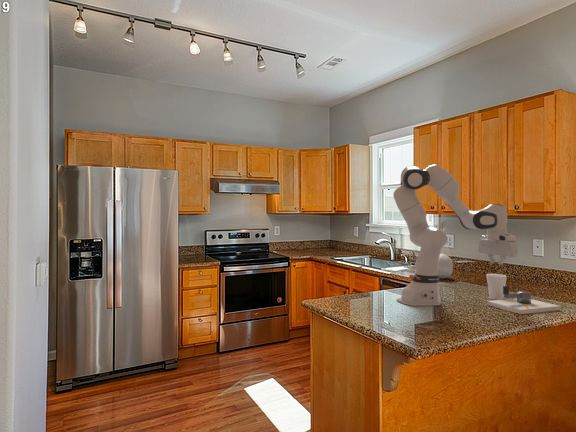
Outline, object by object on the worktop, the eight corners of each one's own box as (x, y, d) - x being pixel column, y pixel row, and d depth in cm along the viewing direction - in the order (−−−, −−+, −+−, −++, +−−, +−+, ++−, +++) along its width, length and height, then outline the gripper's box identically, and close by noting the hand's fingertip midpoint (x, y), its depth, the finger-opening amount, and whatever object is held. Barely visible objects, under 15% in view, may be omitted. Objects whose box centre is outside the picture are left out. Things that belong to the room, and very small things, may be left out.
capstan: (522, 300, 186) (523, 283, 185) (534, 303, 180) (534, 285, 180) (498, 302, 180) (498, 284, 180) (509, 305, 175) (509, 287, 175)
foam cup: (495, 301, 192) (496, 276, 192) (482, 297, 201) (482, 274, 201) (510, 300, 195) (510, 276, 195) (496, 296, 204) (496, 273, 204)
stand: (519, 314, 167) (520, 309, 167) (487, 304, 185) (487, 300, 185) (559, 310, 176) (560, 305, 176) (525, 301, 193) (525, 297, 193)
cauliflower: (426, 264, 284) (428, 241, 272) (456, 279, 267) (460, 256, 255) (409, 277, 274) (411, 254, 263) (439, 293, 257) (443, 270, 245)
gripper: (475, 235, 192) (474, 261, 192) (510, 237, 172) (509, 266, 173) (484, 235, 194) (484, 261, 194) (520, 237, 174) (519, 266, 175)
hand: (496, 263), depth 183 cm, fingers open, 3 cm apart
